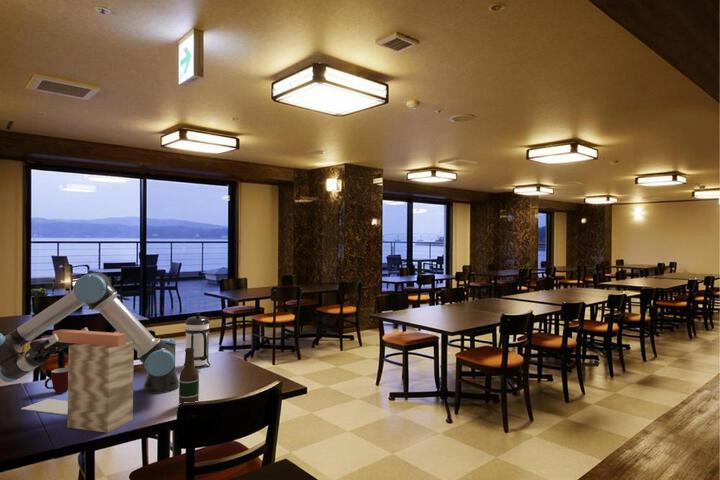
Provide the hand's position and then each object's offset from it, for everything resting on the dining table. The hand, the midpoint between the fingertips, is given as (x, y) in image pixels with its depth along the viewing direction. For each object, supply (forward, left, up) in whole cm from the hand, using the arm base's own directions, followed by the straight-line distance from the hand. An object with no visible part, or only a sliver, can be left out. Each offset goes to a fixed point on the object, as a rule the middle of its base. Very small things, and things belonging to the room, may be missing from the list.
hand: (72, 333), depth 170 cm
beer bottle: (-42, -1, -33) cm, 54 cm away
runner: (+6, -15, -33) cm, 37 cm away
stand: (-11, +8, -33) cm, 36 cm away
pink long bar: (-6, +4, -3) cm, 8 cm away
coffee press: (-47, -62, -33) cm, 85 cm away
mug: (+13, -37, -33) cm, 51 cm away
